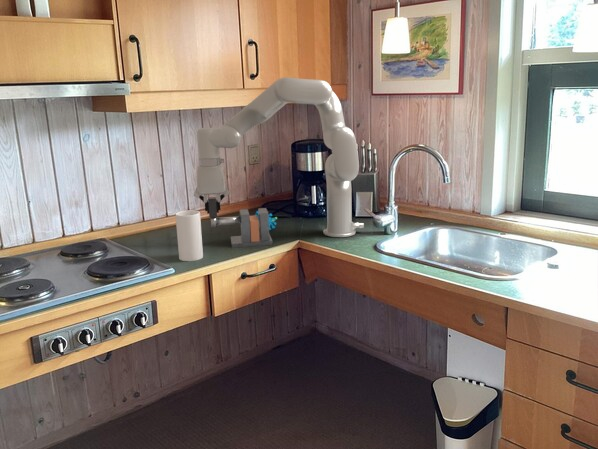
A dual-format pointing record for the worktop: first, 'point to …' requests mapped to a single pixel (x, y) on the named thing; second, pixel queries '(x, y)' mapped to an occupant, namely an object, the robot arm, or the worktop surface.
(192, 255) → the cup
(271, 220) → the blue spiky toy
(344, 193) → the robot arm
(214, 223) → the shaft
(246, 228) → the bracket
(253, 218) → the orange square block
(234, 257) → the worktop surface
